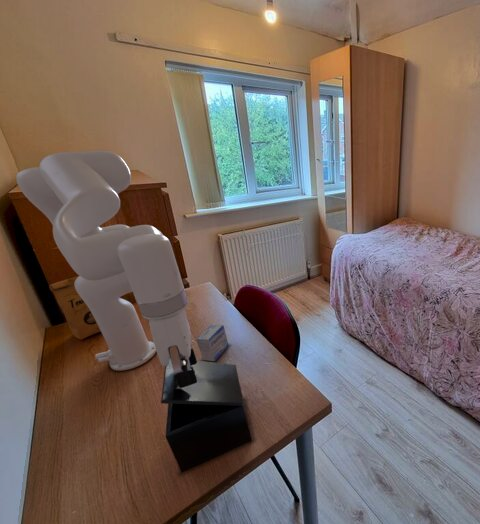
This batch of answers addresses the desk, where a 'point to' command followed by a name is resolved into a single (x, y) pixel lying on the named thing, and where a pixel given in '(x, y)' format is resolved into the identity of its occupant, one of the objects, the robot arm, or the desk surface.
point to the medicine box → (212, 342)
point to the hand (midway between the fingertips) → (188, 373)
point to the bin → (205, 431)
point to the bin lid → (204, 385)
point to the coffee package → (74, 309)
